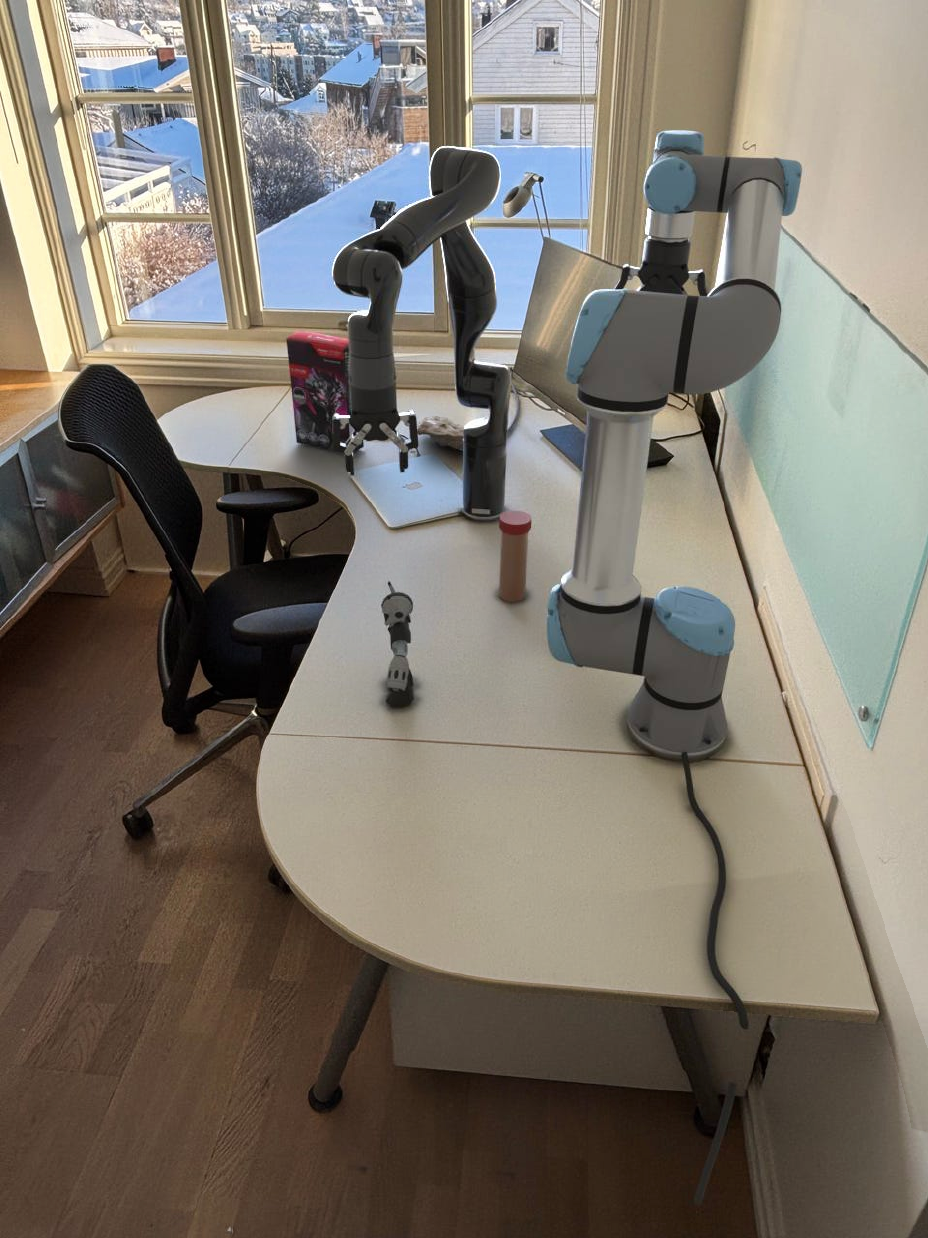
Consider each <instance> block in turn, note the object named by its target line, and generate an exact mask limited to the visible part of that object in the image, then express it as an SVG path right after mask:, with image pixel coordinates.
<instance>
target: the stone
mask: <svg viewBox="0 0 928 1238" xmlns="http://www.w3.org/2000/svg"><path fill="white" fill-rule="evenodd" d="M463 429H464V426H463V425H461V424H457V423H455V421H452V420H449V418H448V417H443V416H440V415H439V416H438V415H433V416H431V417H424V419H422V421H420V422H418V423H417V431H418V436H421V435H423V436H424V435H427V436H428V437H430V439H431V440H434V441H437V443H438V445H440V446H441V447H448V446H449V447H451V448H453V449H456V450H460V451H462V452H463Z"/></svg>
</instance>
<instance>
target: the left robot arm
mask: <svg viewBox="0 0 928 1238" xmlns="http://www.w3.org/2000/svg"><path fill="white" fill-rule="evenodd" d="M501 176H502V175H501V166H500V163H499V161H498V159H497V158H496V157H495V156H494V154H492V153H490V152H487V151H484V150H479V149H474V148H466V147H458V146H449V145H447V146H440V147H439V148H437V149H436V151H434V153H433V155H432V157H431V160H430V165H429V176H428V179H429V182H428V183H429V190H430V196H431V197H427V198H424V199H421V200H419V201H416V202H414V203H412V204H409V205H408V206H405V207H404V208H402V209H400V210H399V211H398V212H396V214H395V215H393V216H392V217H391V218H389V220H388V221H387V222H385V223H384V224H383V225H382V226H381V227H380V229H376V230H374V231H371V232H368V233H367V234H364V235H362V236H360V237H359V238H357V239H354V240H353V241H351V242H349V243H348V244H346V245H345V246H344V247H343V248H342V249H341V250H340V251H339V252H338V253H337V255H336V257H335V259H334V262H333V265H332V269H331V270H332V271H331V274H332V275H331V276H332V280H333V283H334V285H335V286H336V288H337V289H338V290H339V291H340V292H342V293H343V294H345V295H348V296H352V297H357V298H358V297H359V298H364V299H368V300H370V304H369V308H368V310H361V311H357V312H354V313H352V314H351V315H349V317H348V320H347V339H348V343H349V365H348V366H349V384H350V401H351V413H350V415H349V416H340V415H339V414H338V413H335V414H333V451H332V452H334V453H336V454H338V453H339V452H340V454H342V455H344V464H345V471H346V473H349V475H350V476H355V463H354V453H353V451H354V449H355V448H356V447H357V446H358V445H359V444H360V442H361V441H362V440H363V441H366V442H372V441H380V442H381V441H386V440H387V439H389V440H390V441H391V442H392V443H393V444H394V445H395V446H396V447H397V448H398V460H399V461H398V463H399V472H400V473H405V472H406V471H405V470H408V469H409V451H411V450H412V449H418V448H419V447H420V446H419V445H420V444H419V435H418V431H417V430H418V422H417V421H418V419H417V414H416V411H415V410H414V409H409V410H408V411H407V412H399V411H398V399H397V397H398V396H397V371H396V361H395V353H394V332H393V331H394V330H393V329H394V328H393V327H394V321H395V316H396V311H397V305H398V302H399V297H400V293H401V290H402V284H403V271H402V270H405V269H407V268H409V267H411V265H412V264H413V263H415V261H416V260H418V259H419V257H421V256H422V255H423V253H425V252H426V251H427V250H428V249H429V248H430V247H431V246H433V244H434V243H436V242H437V240H439V239H440V245H441V251H442V259H443V265H444V275H445V287H446V296H447V305H448V311H449V318H450V323H451V332H452V341H453V343H452V344H453V363H454V365H453V366H454V367H453V369H454V388H455V395H456V399H457V401H458V403H459V404H460V405H461V406H463V407H466V408H470V409H477V410H485V411H489V415H487V416H484V417H480V418H476V419H472V420H470V421H468V422H467V423H466V424H465V425H464V426H463V427H464V429H463V451H462V506H463V510H462V509H461V513H462V515H463V516H464V517H465V518H467V519H469V520H471V521H476V522H492V521H496V520H499V518H500V515H501V514H502V513H504V512H506V510H505V509H506V506H505V503H506V501H505V500H506V499H505V498H506V479H507V477H506V476H507V445H508V444H507V443H508V434H509V433H510V432H511V430H512V429H513V427H514V425H515V424H516V422H517V420H518V417H519V414H520V399H519V395H518V393H517V390H516V387H515V386H514V384H513V383H512V373H511V371H513V370H512V366H510V367H508V366H507V365H504V364H498V363H490V362H483V361H478V360H476V355H475V349H476V345H477V344H478V342H479V340H480V338H481V336H482V335H483V333H484V332H485V331H486V329H487V328H488V326H489V325H490V323H491V321H492V320H493V318H494V316H495V314H496V311H497V307H498V296H497V282H496V274H495V271H494V267H493V264H491V261H490V259H489V258H488V256H487V255H486V253H485V251H484V249H483V248H482V246H481V245H480V243H479V242H478V241H477V239H476V237H475V236H474V234H473V232H472V230H471V228H470V226H469V223H468V220H470V219H472V218H473V217H475V216H477V215H478V214H480V213H482V212H484V211H485V210H487V208H489V207H490V206H491V205H492V204H493V202H494V201H495V200H496V197H497V195H498V193H499V190H500V185H501ZM512 391H513V394H514V397H515V401H516V411H515V415H514V418H513V420H512V422H511V423H510V424H509V416H510V415H509V414H510V403H511V393H512ZM401 421H402V422H403V423H404V426H406V427H408V430H409V439H404V437H403V436H402V435H401V434H400V432H399V431H398V430H397V427H398V426H399V424H400V422H401ZM347 423H349V424H350V425H351V426H352V427H353V429H354V431H353V432H352V433H351V435H350V438H349V439H348V440H347V442H346V443H341V442H340V429H344V428H345V425H346V424H347Z"/></svg>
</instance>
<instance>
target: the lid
mask: <svg viewBox="0 0 928 1238" xmlns="http://www.w3.org/2000/svg"><path fill="white" fill-rule="evenodd" d="M498 528H499V530H500V532H501V531H502V532H504V533H506V534H510V535H522V534H525V533H527V532H528V533H529V532H530V531H531V530H532V516H531V514H529V513H528V512H526V511H523V510H517V509H512V510H511V509H510V510H505V512H504V513H502V514H501V515H500V518H499V519H498Z"/></svg>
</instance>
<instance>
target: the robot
mask: <svg viewBox="0 0 928 1238" xmlns="http://www.w3.org/2000/svg"><path fill="white" fill-rule="evenodd" d="M387 585H388V588H389V591H390V593H389V594H387V595H386V596H385V597H384V598H382V600H381V604H380V606H381V607H380V608H381V613H382V614H383V618H384V625H385V626H386V627H387V626H388V627H387V631H388V634H389V639H390V641H389V642H390V650H391V652H392V653H393V657H392V659H391V660H390V663H389V665H388V669H387V676H386V682H385V684H386V686H387V690H388V694H387V696H386V699H385V703H386V704H387V705H388V706H389V707H390V708H395V709H402V708H404V707H408V706H410V705H412V703H413V701H414V698H415V697H414V691H413V687H414V685H415V684H414V676H413V674H412V671H411V669H410V664H409V660H408V657H407V656H408V653H409V651H408V649H409V647H408V644H411V642H412V631H411V629H410V624H411V623H412V619H411V615H410V614H412V612H413V610H414V602H413V599H412V598H411V597H410V596H409V595H408V593H404V592H400V591H396V590H395V588H394V586H393V584H392V582H391V581H390V580H388V581H387Z"/></svg>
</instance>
